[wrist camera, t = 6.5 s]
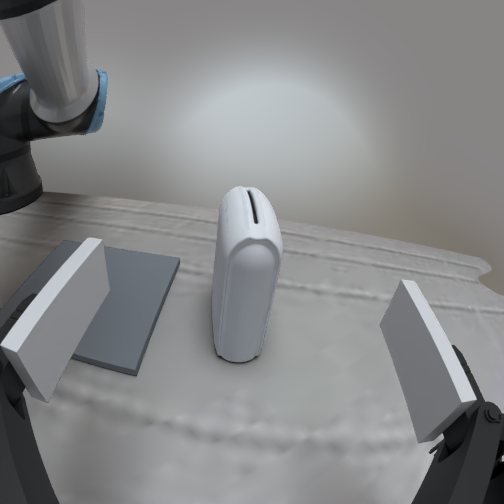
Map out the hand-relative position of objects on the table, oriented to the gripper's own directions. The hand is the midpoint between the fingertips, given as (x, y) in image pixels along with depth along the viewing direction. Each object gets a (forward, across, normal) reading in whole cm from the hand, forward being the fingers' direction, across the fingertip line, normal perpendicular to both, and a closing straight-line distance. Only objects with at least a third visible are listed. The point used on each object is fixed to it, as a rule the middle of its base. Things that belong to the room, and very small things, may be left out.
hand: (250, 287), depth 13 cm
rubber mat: (+11, -15, -12) cm, 22 cm away
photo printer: (+11, 0, -12) cm, 17 cm away
